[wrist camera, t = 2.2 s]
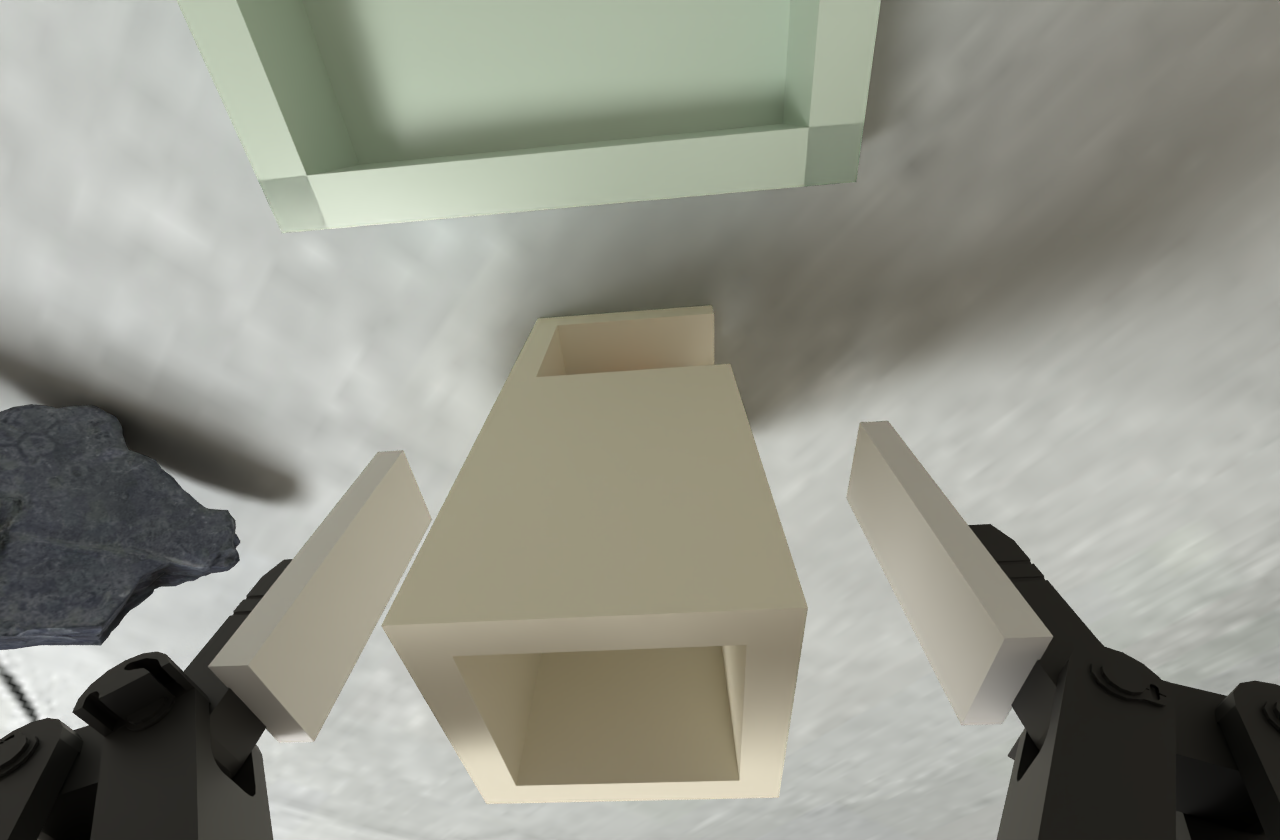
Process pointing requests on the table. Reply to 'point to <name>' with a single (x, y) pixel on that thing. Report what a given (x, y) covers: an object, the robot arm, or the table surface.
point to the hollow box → (610, 578)
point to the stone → (91, 527)
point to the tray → (533, 101)
